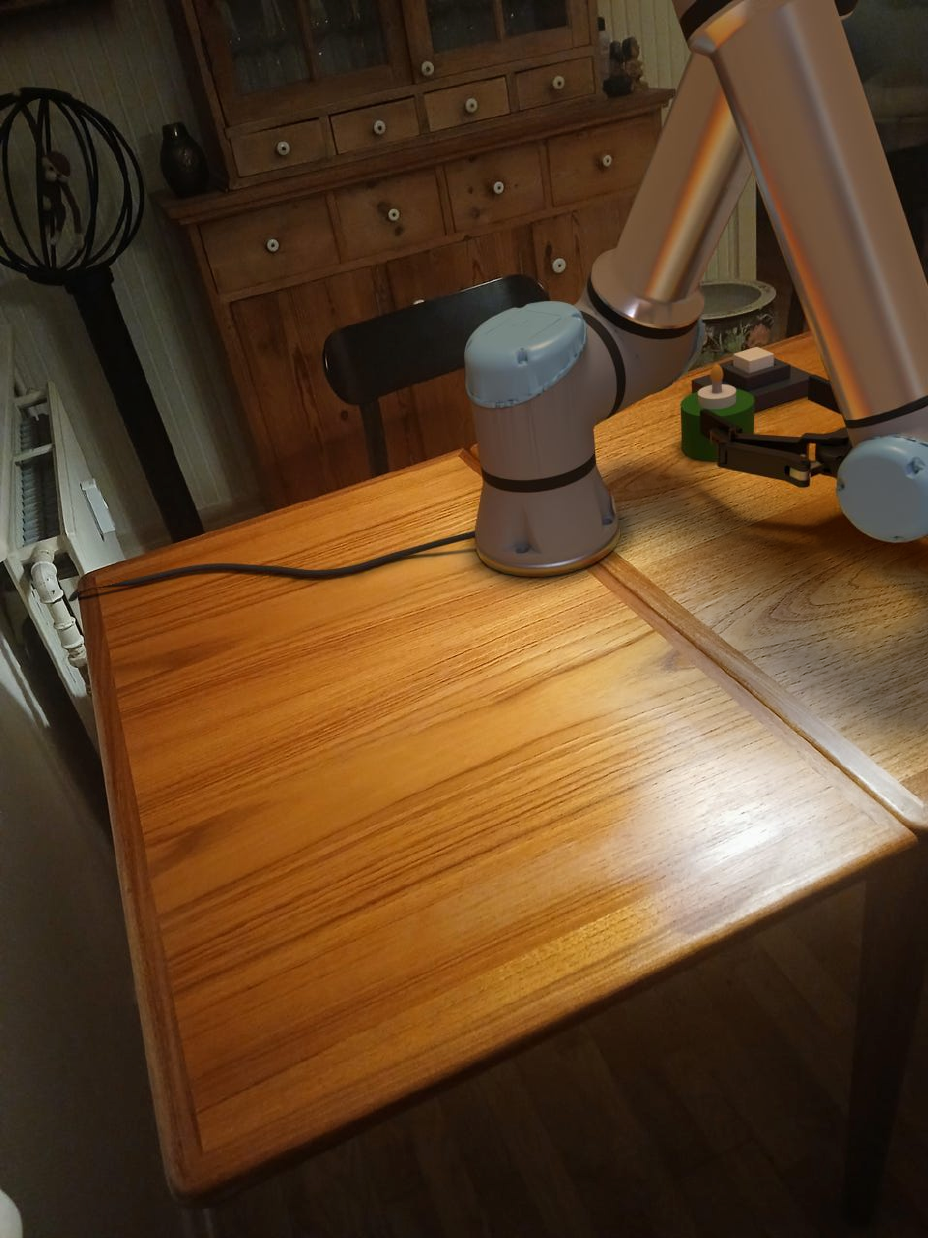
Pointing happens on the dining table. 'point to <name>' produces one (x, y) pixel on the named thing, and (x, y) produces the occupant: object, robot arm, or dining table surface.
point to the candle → (721, 402)
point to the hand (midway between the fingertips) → (757, 403)
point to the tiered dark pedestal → (763, 383)
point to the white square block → (753, 359)
